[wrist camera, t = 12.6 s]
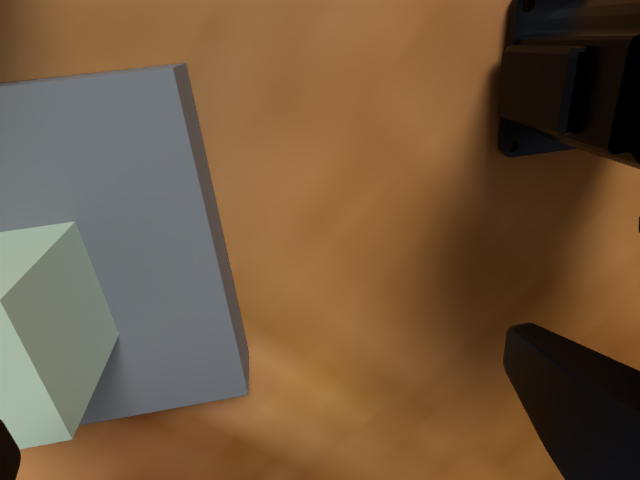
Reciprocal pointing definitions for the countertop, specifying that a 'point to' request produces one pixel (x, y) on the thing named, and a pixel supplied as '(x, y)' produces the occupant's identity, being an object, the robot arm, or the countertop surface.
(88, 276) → the green cube
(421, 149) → the countertop surface
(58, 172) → the base
